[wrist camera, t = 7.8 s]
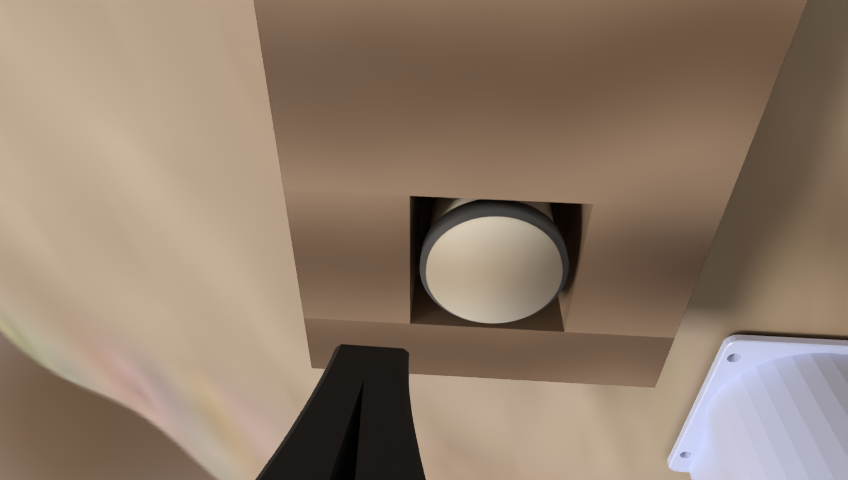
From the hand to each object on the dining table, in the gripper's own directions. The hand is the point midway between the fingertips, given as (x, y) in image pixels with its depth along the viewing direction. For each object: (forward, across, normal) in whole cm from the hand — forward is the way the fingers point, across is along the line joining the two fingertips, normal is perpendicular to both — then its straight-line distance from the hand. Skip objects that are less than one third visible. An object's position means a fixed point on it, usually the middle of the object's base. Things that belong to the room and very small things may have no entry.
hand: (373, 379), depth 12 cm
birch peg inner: (+10, -3, +2) cm, 10 cm away
